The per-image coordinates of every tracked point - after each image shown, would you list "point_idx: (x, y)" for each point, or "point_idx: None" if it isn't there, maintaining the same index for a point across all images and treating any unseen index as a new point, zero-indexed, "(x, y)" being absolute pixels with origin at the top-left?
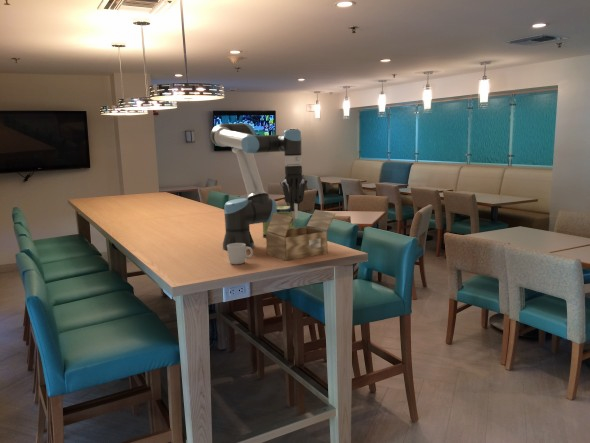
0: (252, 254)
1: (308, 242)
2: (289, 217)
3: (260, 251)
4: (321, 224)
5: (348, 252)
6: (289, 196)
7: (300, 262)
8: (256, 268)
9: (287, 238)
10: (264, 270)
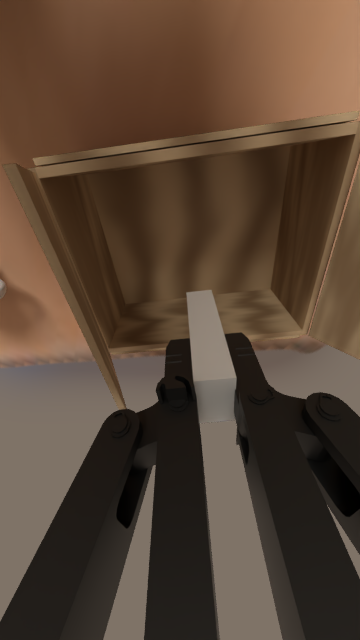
0: (5, 292)
1: None
2: (118, 406)
3: (52, 90)
4: (350, 295)
5: None
6: (122, 551)
7: None
8: (36, 334)
9: (117, 353)
10: (56, 354)
